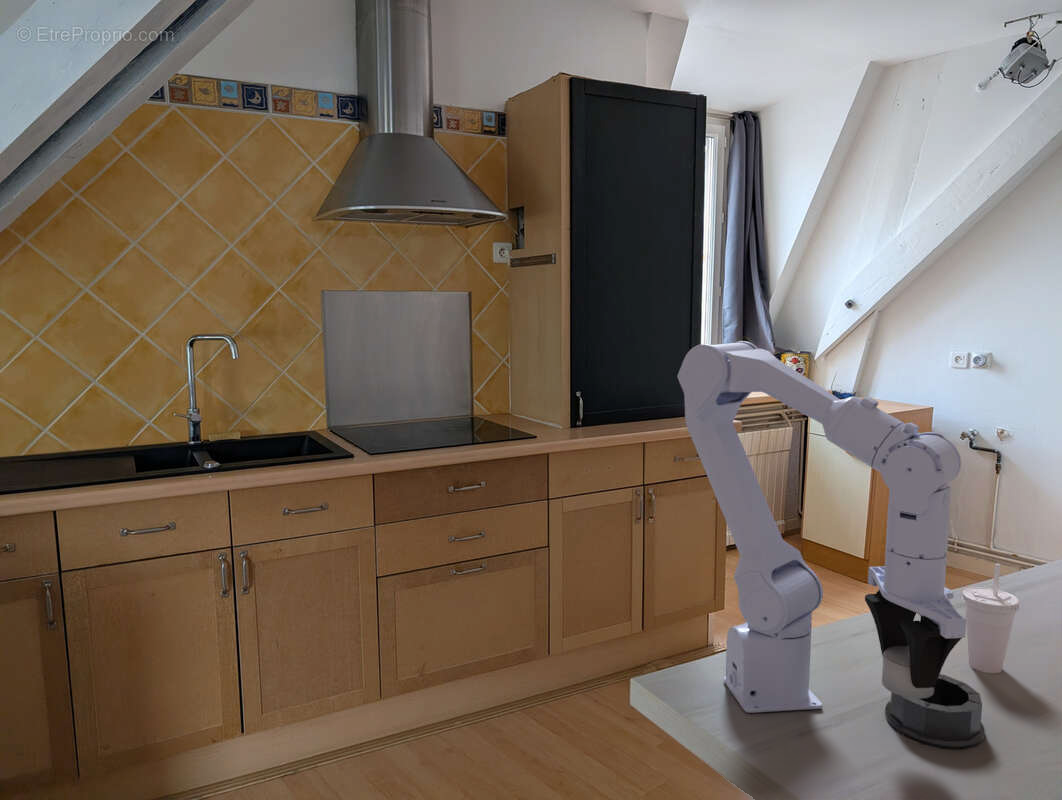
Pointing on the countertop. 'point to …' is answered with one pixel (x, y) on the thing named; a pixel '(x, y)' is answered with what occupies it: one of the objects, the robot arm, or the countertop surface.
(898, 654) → the cap
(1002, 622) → the smoothie
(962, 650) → the countertop surface
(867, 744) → the countertop surface
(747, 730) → the countertop surface
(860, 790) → the countertop surface
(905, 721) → the dark grey pot
